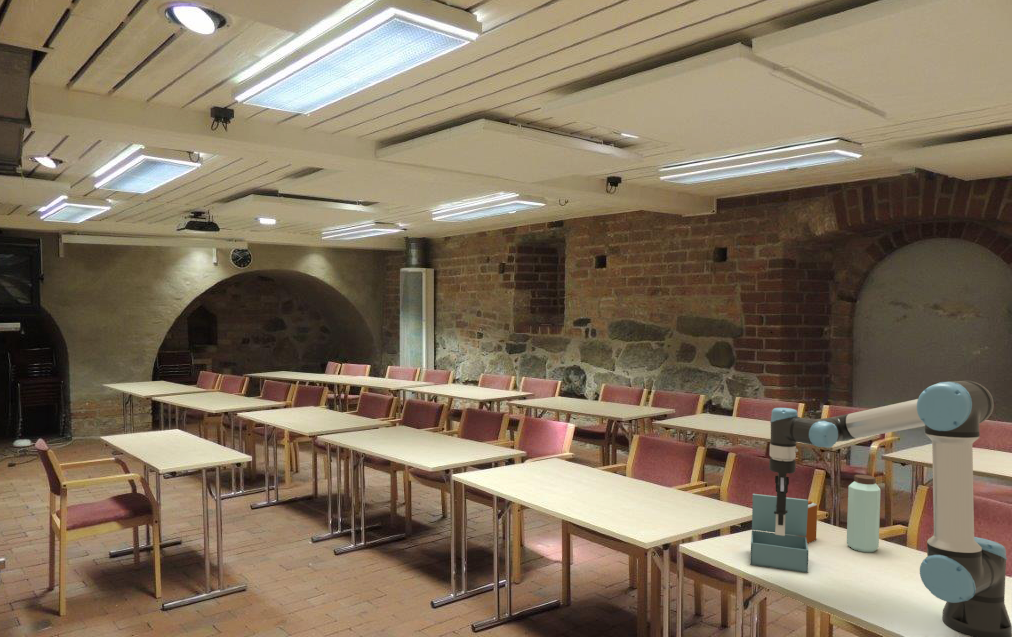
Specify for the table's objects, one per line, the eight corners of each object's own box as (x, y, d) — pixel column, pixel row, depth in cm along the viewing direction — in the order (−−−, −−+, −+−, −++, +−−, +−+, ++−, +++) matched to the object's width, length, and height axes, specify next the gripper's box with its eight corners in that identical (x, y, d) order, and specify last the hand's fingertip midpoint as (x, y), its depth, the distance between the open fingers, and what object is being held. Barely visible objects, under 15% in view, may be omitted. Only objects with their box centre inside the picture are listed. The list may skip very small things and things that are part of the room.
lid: (808, 500, 227) (808, 499, 228) (752, 494, 233) (752, 493, 234) (806, 536, 232) (806, 535, 233) (751, 529, 238) (751, 528, 238)
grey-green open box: (807, 572, 219) (808, 550, 219) (750, 564, 225) (750, 542, 225) (805, 558, 232) (806, 537, 232) (751, 550, 238) (751, 530, 238)
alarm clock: (795, 533, 258) (796, 496, 258) (818, 539, 252) (819, 502, 252) (774, 541, 249) (775, 503, 249) (797, 547, 242) (798, 508, 242)
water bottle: (839, 545, 246) (842, 474, 245) (859, 542, 250) (862, 472, 249) (865, 554, 237) (867, 481, 236) (885, 551, 241) (887, 478, 240)
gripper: (796, 464, 208) (793, 542, 209) (794, 455, 220) (792, 529, 221) (769, 461, 211) (767, 539, 211) (769, 453, 223) (767, 526, 224)
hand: (779, 534), depth 216 cm, fingers closed
